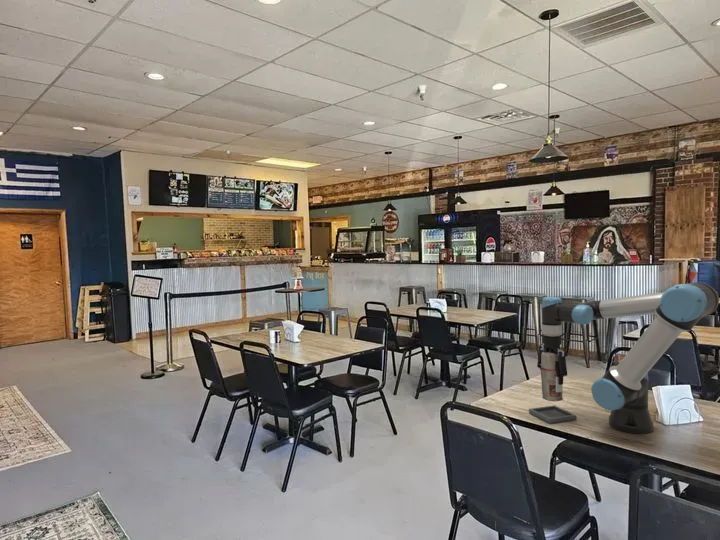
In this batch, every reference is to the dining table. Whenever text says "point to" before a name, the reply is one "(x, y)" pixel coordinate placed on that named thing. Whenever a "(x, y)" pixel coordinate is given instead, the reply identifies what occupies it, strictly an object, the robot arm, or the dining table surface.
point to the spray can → (549, 377)
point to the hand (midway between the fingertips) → (551, 388)
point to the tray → (552, 414)
